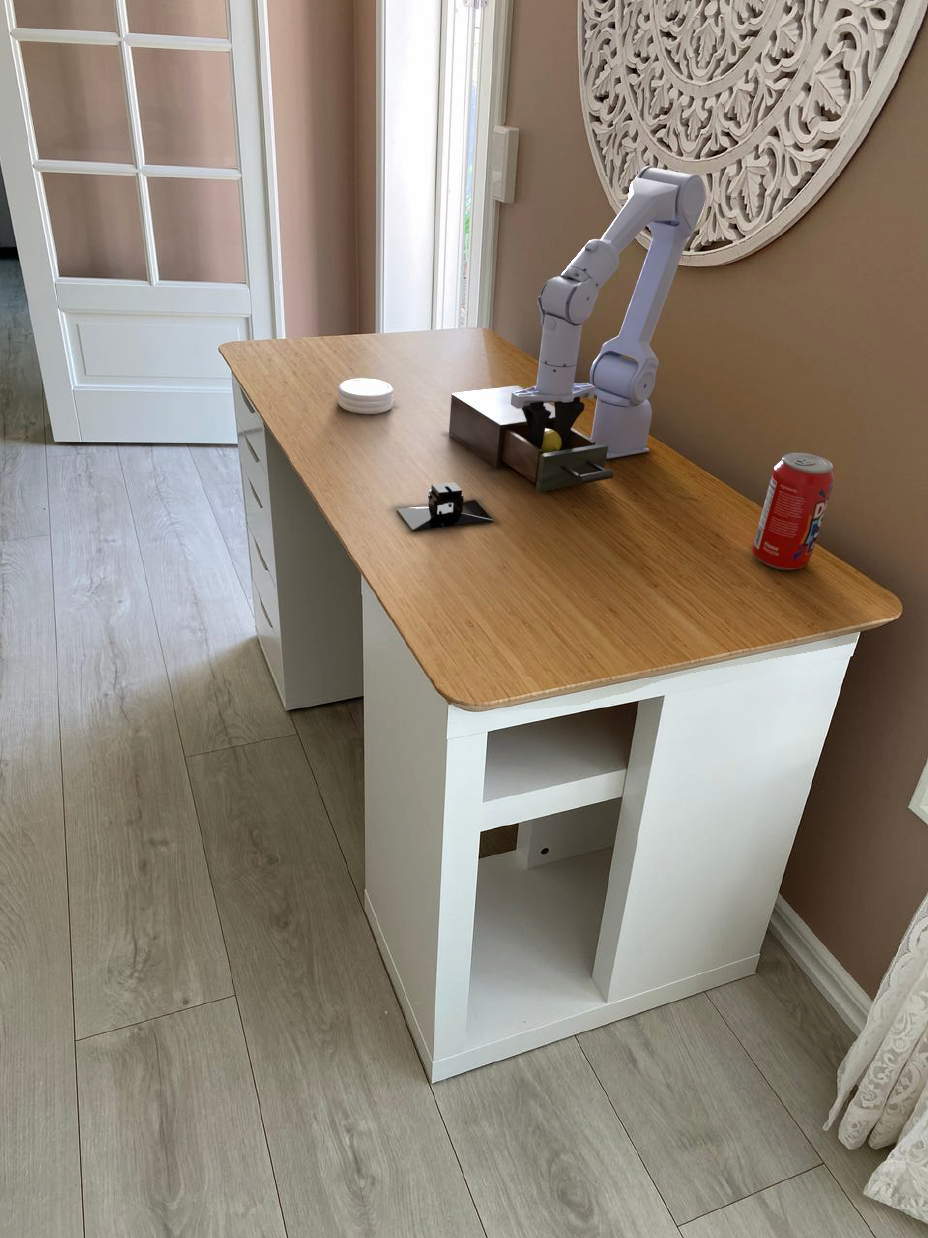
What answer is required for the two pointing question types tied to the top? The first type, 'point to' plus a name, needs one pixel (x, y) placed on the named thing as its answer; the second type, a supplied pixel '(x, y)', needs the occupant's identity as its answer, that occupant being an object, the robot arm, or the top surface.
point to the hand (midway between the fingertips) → (547, 445)
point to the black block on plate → (444, 510)
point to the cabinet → (486, 420)
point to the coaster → (365, 396)
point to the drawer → (555, 459)
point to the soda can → (793, 510)
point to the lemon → (551, 441)
